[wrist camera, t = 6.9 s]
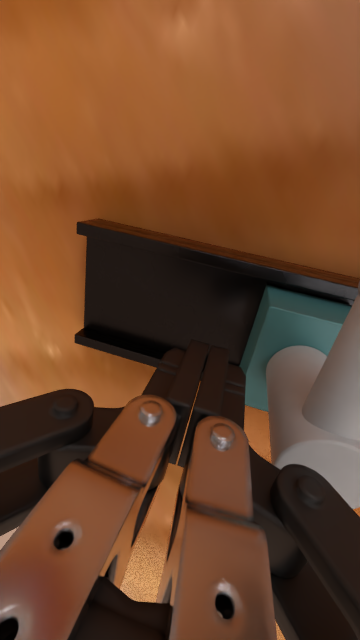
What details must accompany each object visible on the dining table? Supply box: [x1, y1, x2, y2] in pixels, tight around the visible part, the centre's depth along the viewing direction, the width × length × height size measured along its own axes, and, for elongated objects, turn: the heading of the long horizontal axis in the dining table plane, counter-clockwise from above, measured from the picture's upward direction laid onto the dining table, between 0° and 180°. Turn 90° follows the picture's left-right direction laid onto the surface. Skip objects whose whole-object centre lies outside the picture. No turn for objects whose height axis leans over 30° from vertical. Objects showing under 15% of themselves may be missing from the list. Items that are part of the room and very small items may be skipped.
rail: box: [75, 219, 360, 381], centre depth 14 cm, size 7×21×3 cm, turn 80°
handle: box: [239, 281, 360, 509], centre depth 10 cm, size 8×4×8 cm, turn 170°
